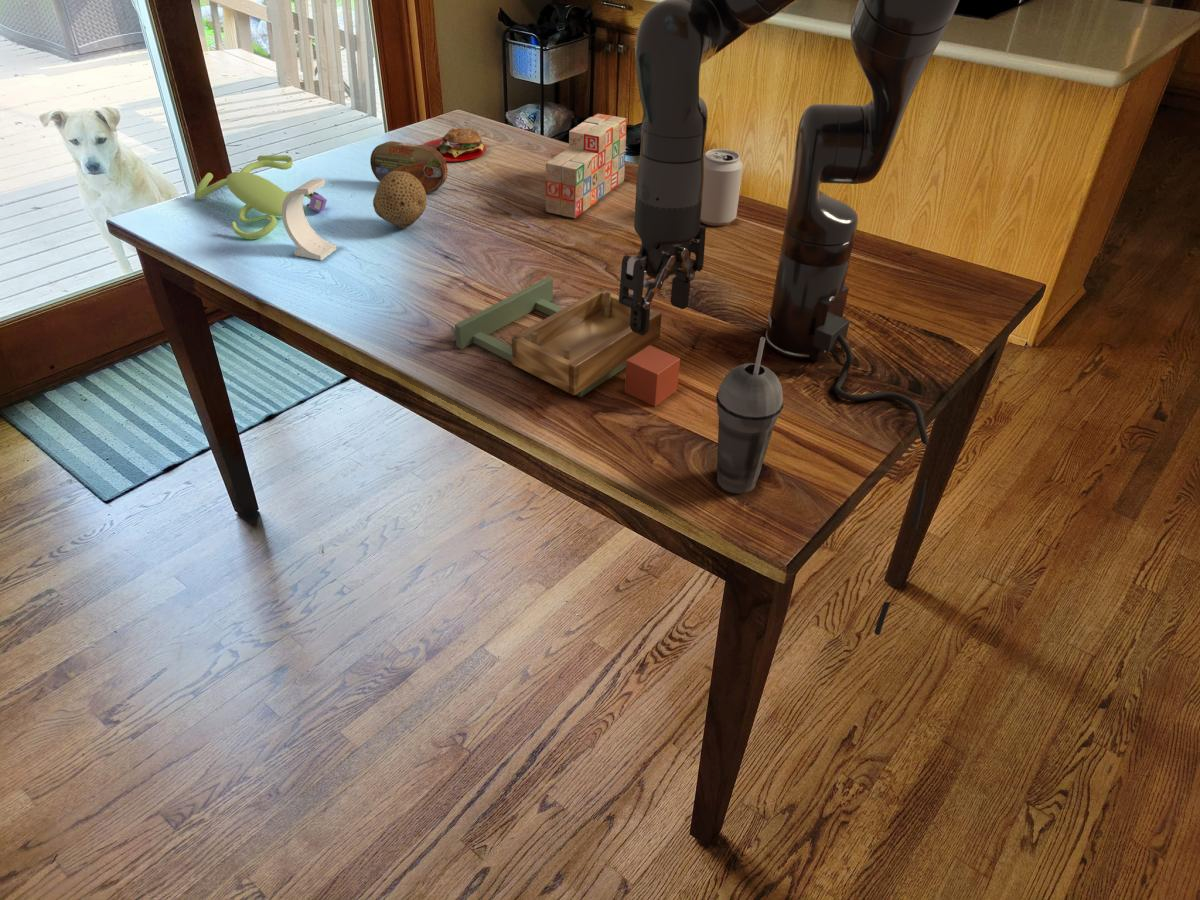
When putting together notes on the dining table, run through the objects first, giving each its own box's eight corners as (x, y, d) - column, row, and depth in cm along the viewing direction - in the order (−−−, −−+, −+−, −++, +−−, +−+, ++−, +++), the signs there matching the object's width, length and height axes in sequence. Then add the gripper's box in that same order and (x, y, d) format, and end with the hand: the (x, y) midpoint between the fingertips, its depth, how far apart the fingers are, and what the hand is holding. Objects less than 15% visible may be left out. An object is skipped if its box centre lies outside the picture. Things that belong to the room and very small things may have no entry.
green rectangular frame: (657, 346, 124) (659, 324, 122) (569, 405, 112) (569, 382, 110) (548, 297, 134) (548, 276, 132) (456, 347, 123) (454, 324, 120)
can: (734, 229, 156) (742, 163, 148) (692, 225, 157) (698, 159, 149) (737, 213, 161) (745, 148, 154) (697, 208, 162) (703, 144, 155)
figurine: (284, 173, 171) (279, 144, 167) (346, 219, 155) (341, 188, 151) (189, 194, 162) (181, 164, 158) (243, 245, 146) (236, 214, 142)
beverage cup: (761, 461, 104) (789, 314, 92) (773, 501, 99) (803, 351, 86) (701, 460, 104) (720, 313, 92) (709, 501, 98) (730, 351, 86)
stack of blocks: (575, 219, 157) (576, 151, 150) (545, 212, 159) (544, 145, 152) (624, 180, 172) (627, 117, 165) (596, 174, 174) (597, 111, 167)
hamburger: (462, 135, 190) (460, 106, 187) (499, 153, 182) (498, 124, 178) (406, 148, 183) (403, 119, 179) (442, 168, 175) (439, 138, 171)
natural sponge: (435, 235, 150) (429, 179, 144) (383, 243, 148) (375, 186, 142) (423, 215, 157) (417, 160, 151) (373, 221, 154) (365, 166, 148)
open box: (659, 339, 123) (662, 307, 119) (574, 395, 111) (574, 361, 108) (599, 313, 128) (600, 281, 125) (512, 364, 117) (510, 330, 114)
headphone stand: (321, 260, 142) (307, 189, 135) (289, 254, 144) (274, 183, 136) (337, 249, 146) (324, 178, 138) (306, 243, 147) (292, 173, 140)
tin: (372, 185, 167) (366, 141, 162) (380, 179, 170) (374, 136, 164) (444, 196, 164) (440, 151, 159) (451, 190, 166) (447, 146, 161)
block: (677, 390, 116) (680, 358, 112) (654, 406, 113) (657, 374, 109) (647, 376, 118) (649, 344, 115) (624, 392, 115) (626, 360, 112)
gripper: (660, 221, 92) (650, 352, 102) (731, 182, 100) (716, 307, 111) (604, 202, 95) (600, 331, 105) (677, 167, 104) (667, 289, 114)
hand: (659, 319), depth 108 cm, fingers open, 8 cm apart
